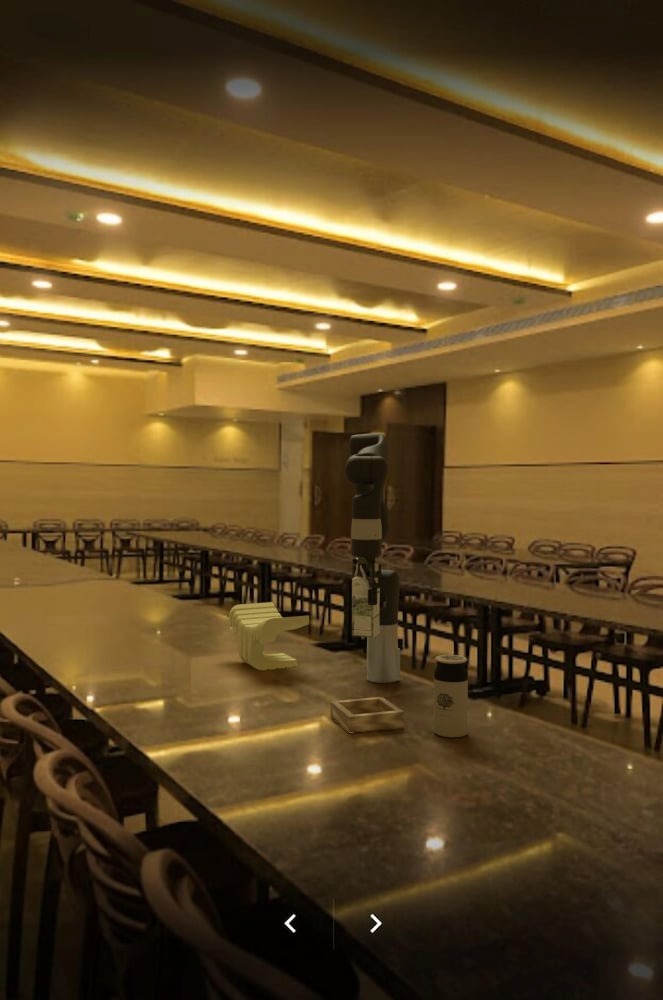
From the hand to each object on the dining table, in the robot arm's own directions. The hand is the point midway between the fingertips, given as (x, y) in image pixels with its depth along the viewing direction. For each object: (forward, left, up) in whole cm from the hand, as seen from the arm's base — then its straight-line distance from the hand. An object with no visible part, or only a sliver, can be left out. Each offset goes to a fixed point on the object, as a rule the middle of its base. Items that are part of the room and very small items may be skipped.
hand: (366, 602), depth 197 cm
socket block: (0, 0, -30) cm, 30 cm away
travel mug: (-16, +14, -30) cm, 37 cm away
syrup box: (0, 0, -8) cm, 8 cm away
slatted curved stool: (+8, -68, -30) cm, 75 cm away
